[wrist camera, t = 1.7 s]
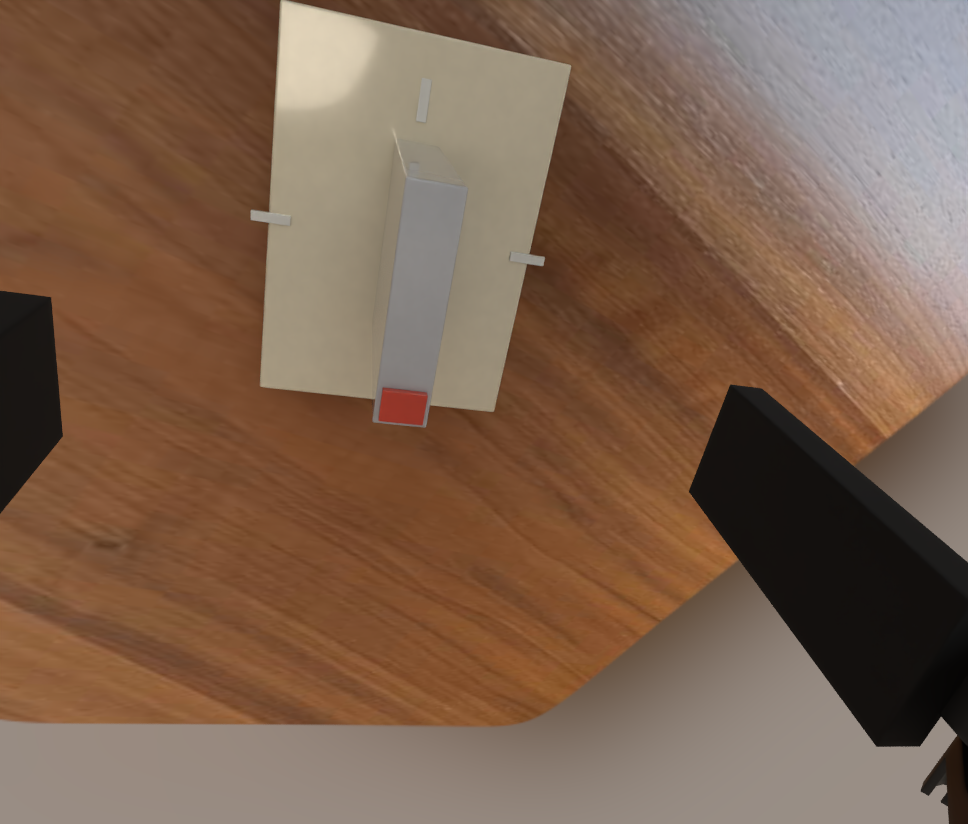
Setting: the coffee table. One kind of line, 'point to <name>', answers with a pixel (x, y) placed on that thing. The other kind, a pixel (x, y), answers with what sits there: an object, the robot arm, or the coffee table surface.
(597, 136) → the coffee table surface
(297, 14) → the base
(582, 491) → the coffee table surface
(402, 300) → the grey flat rectangular block
